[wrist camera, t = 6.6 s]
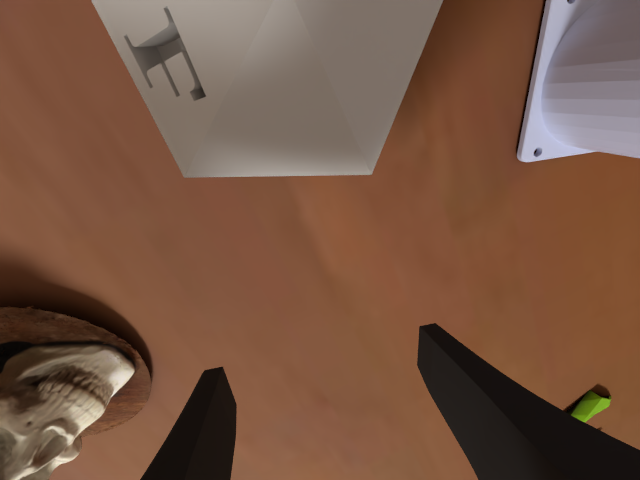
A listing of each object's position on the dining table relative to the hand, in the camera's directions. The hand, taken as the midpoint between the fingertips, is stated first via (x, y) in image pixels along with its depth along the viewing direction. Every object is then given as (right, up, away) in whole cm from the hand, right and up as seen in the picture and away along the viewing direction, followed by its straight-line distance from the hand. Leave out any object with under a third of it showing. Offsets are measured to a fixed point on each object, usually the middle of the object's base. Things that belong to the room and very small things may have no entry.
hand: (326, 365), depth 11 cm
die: (-2, +13, +3) cm, 13 cm away
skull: (-18, 0, +8) cm, 20 cm away
